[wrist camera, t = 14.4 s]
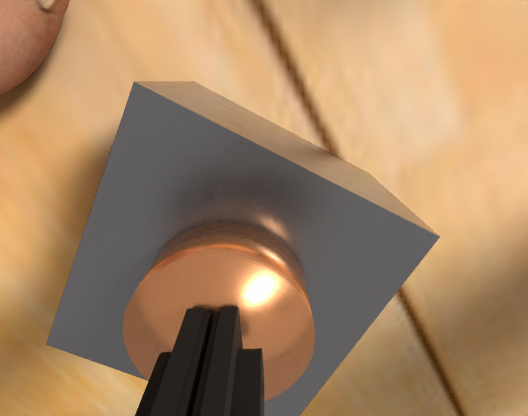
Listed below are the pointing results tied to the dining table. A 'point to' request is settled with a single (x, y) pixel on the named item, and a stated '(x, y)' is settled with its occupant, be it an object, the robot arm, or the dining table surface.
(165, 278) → the copper pin
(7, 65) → the ceramic jug
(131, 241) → the hitch block
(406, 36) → the dining table surface
